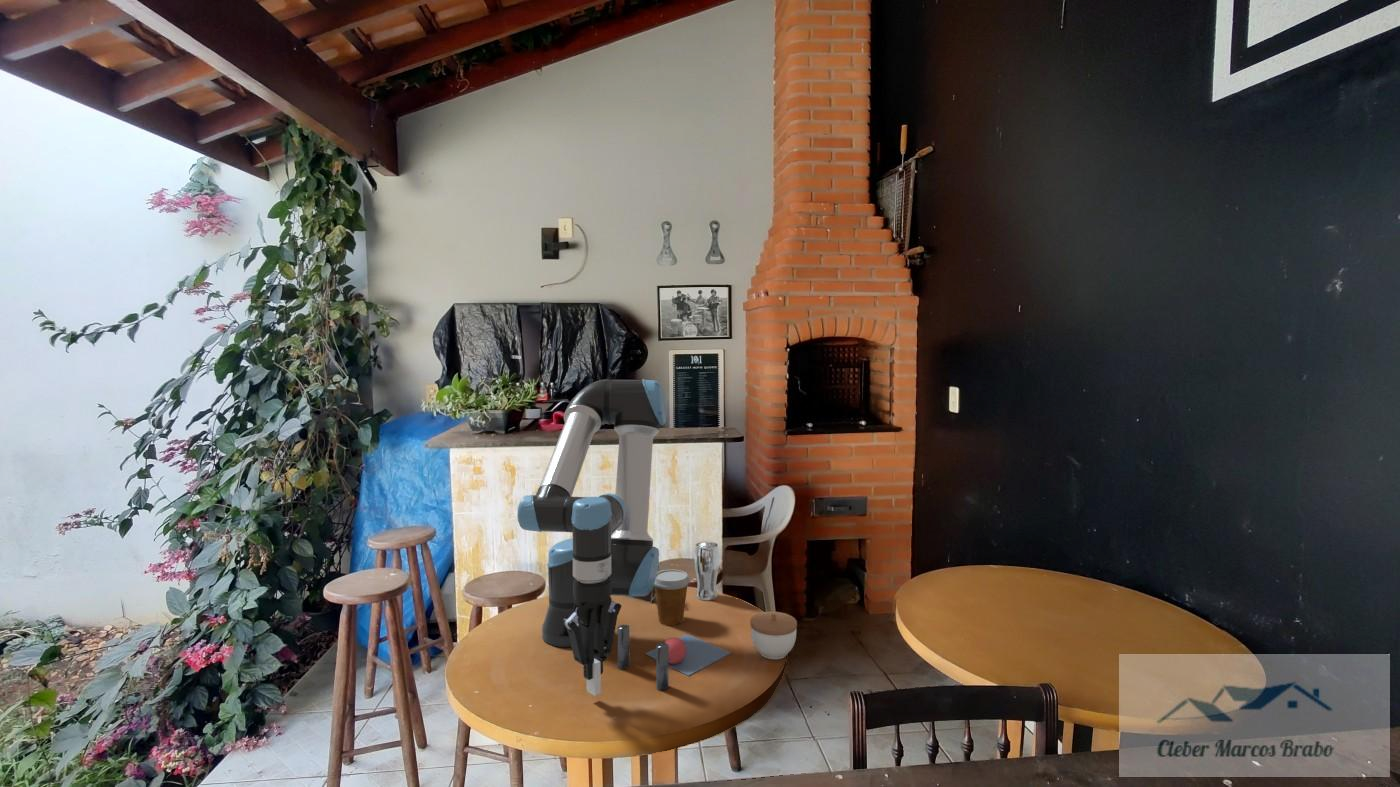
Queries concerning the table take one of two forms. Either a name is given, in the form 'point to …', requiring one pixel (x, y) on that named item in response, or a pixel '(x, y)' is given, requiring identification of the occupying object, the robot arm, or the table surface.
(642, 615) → the table surface
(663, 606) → the disposable coffee cup
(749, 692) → the table surface
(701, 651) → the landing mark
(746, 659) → the table surface
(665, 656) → the post
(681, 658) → the ball
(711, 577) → the beer glass
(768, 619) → the lidded jar
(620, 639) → the post
